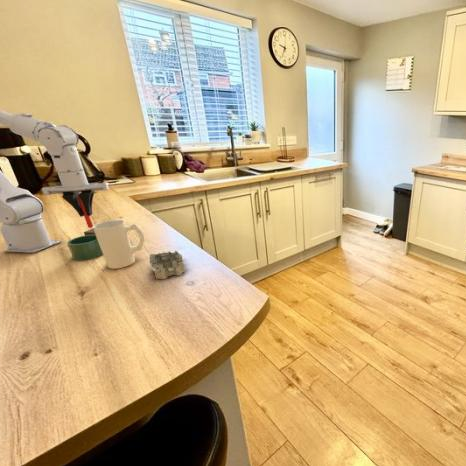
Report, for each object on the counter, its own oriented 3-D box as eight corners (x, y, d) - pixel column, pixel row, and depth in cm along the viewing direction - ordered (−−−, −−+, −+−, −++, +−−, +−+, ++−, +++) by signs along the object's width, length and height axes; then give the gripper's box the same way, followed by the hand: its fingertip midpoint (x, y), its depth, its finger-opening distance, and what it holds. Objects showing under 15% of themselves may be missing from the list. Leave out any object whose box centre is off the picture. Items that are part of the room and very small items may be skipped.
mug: (107, 271, 77) (92, 230, 73) (106, 262, 82) (92, 223, 77) (151, 261, 83) (140, 222, 79) (148, 253, 88) (137, 215, 83)
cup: (66, 259, 83) (60, 244, 81) (89, 248, 90) (84, 234, 88) (90, 261, 83) (84, 245, 81) (111, 250, 89) (106, 235, 88)
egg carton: (186, 274, 77) (183, 260, 75) (153, 282, 73) (149, 268, 71) (182, 258, 85) (179, 245, 83) (151, 265, 81) (148, 252, 79)
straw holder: (86, 240, 96) (83, 232, 95) (104, 232, 102) (102, 224, 101) (106, 241, 95) (103, 233, 94) (123, 233, 102) (120, 225, 101)
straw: (87, 227, 89) (75, 196, 85) (90, 226, 90) (79, 195, 86) (90, 227, 89) (79, 196, 85) (94, 226, 90) (83, 195, 86)
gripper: (105, 166, 89) (118, 208, 94) (43, 169, 83) (60, 214, 88) (99, 170, 83) (113, 215, 88) (31, 174, 77) (51, 221, 83)
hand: (86, 215), depth 88 cm, fingers closed on straw, 1 cm apart
